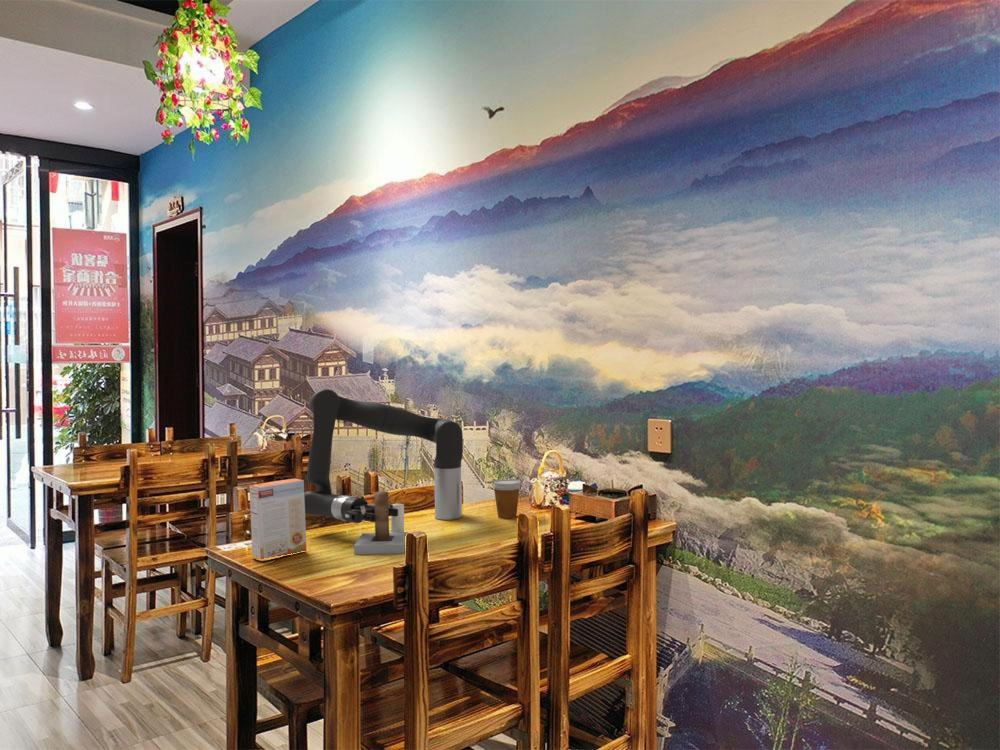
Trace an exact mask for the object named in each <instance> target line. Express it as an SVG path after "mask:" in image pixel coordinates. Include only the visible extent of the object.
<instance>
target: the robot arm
mask: <svg viewBox="0 0 1000 750" xmlns="http://www.w3.org/2000/svg"><path fill="white" fill-rule="evenodd" d="M308 407H309V410H310V412H311V413H312V416H313V433H312V439H311V444H310V449H309V454H308V459H307V467H306V468H307V469H306V472H307V473H306V481H307V482H308V483H310V484H313V485H315V489H316V490H315V491H313V490H312V491H311V490H310V491H309V490H308V491H304V499H305V515H313V516H314V515H315V516H324V517H326V516H327V517H329V518H333V519H338V520H341V521H344V522H349V523H354V524H360V523H362V522H363V523H364V522H371V523H375V522H376V514H375V504H373V503H368V501H367V500H366V499H365V498H363V497H359V496H358V497H357V496H351V495H340V494H336V493H335V494H333V492H332V487H331V480H330V475H331V463H332V462H331V461H332V450H333V448H332V447H333V437H334V430H335V427H336V426H335V425H336V420H337V421H343V422H348V423H352V424H353V425H354V424H355V425H357V426H360V427H363V428H366V429H369V430H373V431H375V432H376V431H377V432H381V433H385V434H390V435H395V436H402V437H403V436H404V437H405V436H406V437H416V438H419V439H422V440H426V441H429V442H432V443H435V457H434V460H433V472H434V473H433V478H434V518H435V519H437V520H446V521H447V520H448V521H451V520H458V519H460V517H461V518H462V517H463V508H462V507H463V495H462V493H463V491H462V461H463V454H464V453H463V452H464V451H463V450H464V448H463V447H464V443H463V442H464V436H463V430H462V428H461V426H460V424H458V422H456V421H454V420H450V419H446V418H435V417H430V416H429V417H428V416H423V415H419V414H416V413H414V412H411V411H410V410H408V409H407V410H406V409H404V408H400V407H397V406H393V405H390V404H386V403H380V402H374V401H373V402H372V401H364V400H363V401H361V400H353V399H350V398H347V397H343V396H339V395H338V394H337V392H336V391H334V390H332V389H329V388H323V389H319V390H317V391H316V392H314V393H313V394H312V395H311V397H310V398H309V400H308ZM391 516H395V517H396V516H398V509H395V508H393V505H392V504H389V517H391Z"/></svg>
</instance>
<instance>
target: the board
mask: <svg viewBox="0 0 1000 750" xmlns="http://www.w3.org/2000/svg"><path fill="white" fill-rule="evenodd" d="M407 533H408V531H404V532H395V533H391V532H389V541H375V532H363V533H362V534H361V535H360V536H359V538H358V539H357V541H356V542H355V544H354V545H353V555H380V554H381V555H385V554H388V555H391V554H395V555H396V554H405V552H406V550H405V536H406V534H407ZM404 551H405V552H404Z"/></svg>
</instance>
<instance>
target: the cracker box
mask: <svg viewBox="0 0 1000 750" xmlns="http://www.w3.org/2000/svg"><path fill="white" fill-rule="evenodd" d="M304 493H305V481H304V480H303V479H298V478H287V479H283V480H274V481H269V482H262V483H257V484H251V485H249V509H250V528H251V529H250V530H251V553H252V555H253V556H255V557H258V558H260V559H264V558H269V557H275V556H281V555H287V554H291V553H292V554H293V553H297V552H301V551H306V552H307V531H306V530H307V529H306V527H307V526H306V513H305V499H304Z"/></svg>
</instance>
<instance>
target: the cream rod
mask: <svg viewBox="0 0 1000 750" xmlns="http://www.w3.org/2000/svg"><path fill="white" fill-rule="evenodd" d="M391 505H393V508H395V509H398V516H396V517H395V516H390V533H395V532H405V504H404V503H393V504H391Z"/></svg>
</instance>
